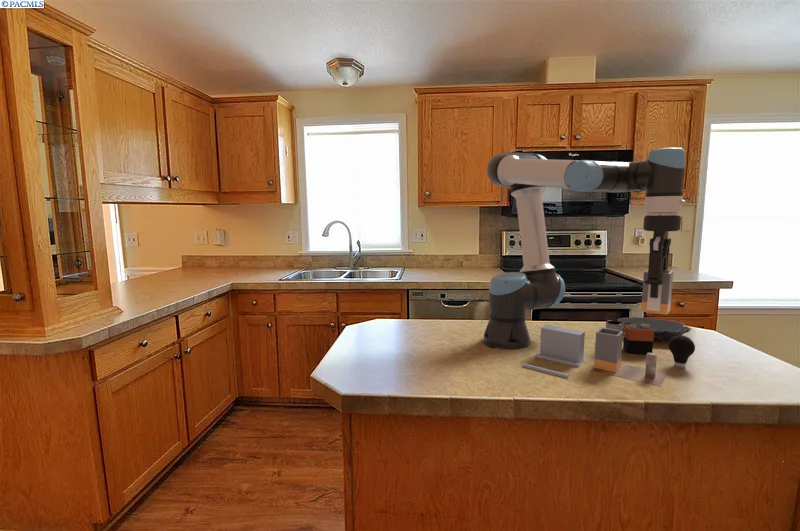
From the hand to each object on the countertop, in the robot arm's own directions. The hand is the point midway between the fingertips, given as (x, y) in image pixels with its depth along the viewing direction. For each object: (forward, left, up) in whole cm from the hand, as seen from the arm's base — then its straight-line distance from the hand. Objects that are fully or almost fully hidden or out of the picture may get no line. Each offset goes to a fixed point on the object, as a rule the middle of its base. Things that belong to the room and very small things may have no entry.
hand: (655, 307), depth 98 cm
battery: (-6, +18, -20) cm, 28 cm away
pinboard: (-5, 0, -20) cm, 20 cm away
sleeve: (0, 0, -1) cm, 1 cm away
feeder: (-22, -6, -20) cm, 30 cm away
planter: (-12, +15, -20) cm, 28 cm away
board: (-6, +44, -20) cm, 49 cm away
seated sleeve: (-10, 0, -18) cm, 21 cm away
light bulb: (+5, +13, -20) cm, 24 cm away
